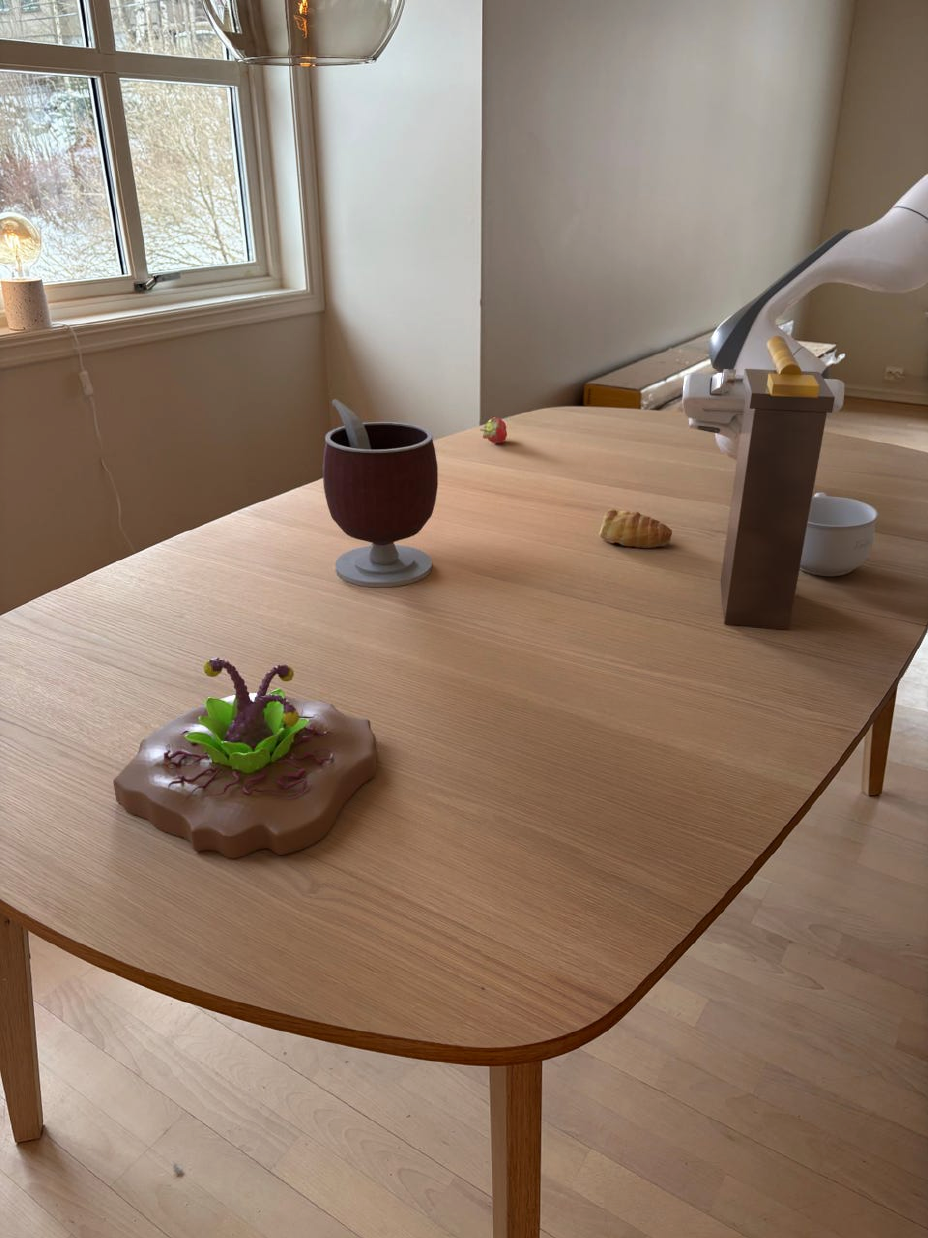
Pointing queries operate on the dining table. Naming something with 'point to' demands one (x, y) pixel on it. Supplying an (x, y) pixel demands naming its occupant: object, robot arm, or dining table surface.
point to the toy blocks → (788, 373)
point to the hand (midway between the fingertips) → (768, 376)
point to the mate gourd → (380, 496)
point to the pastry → (634, 529)
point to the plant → (249, 769)
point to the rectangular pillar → (771, 501)
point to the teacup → (837, 535)
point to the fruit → (495, 430)
